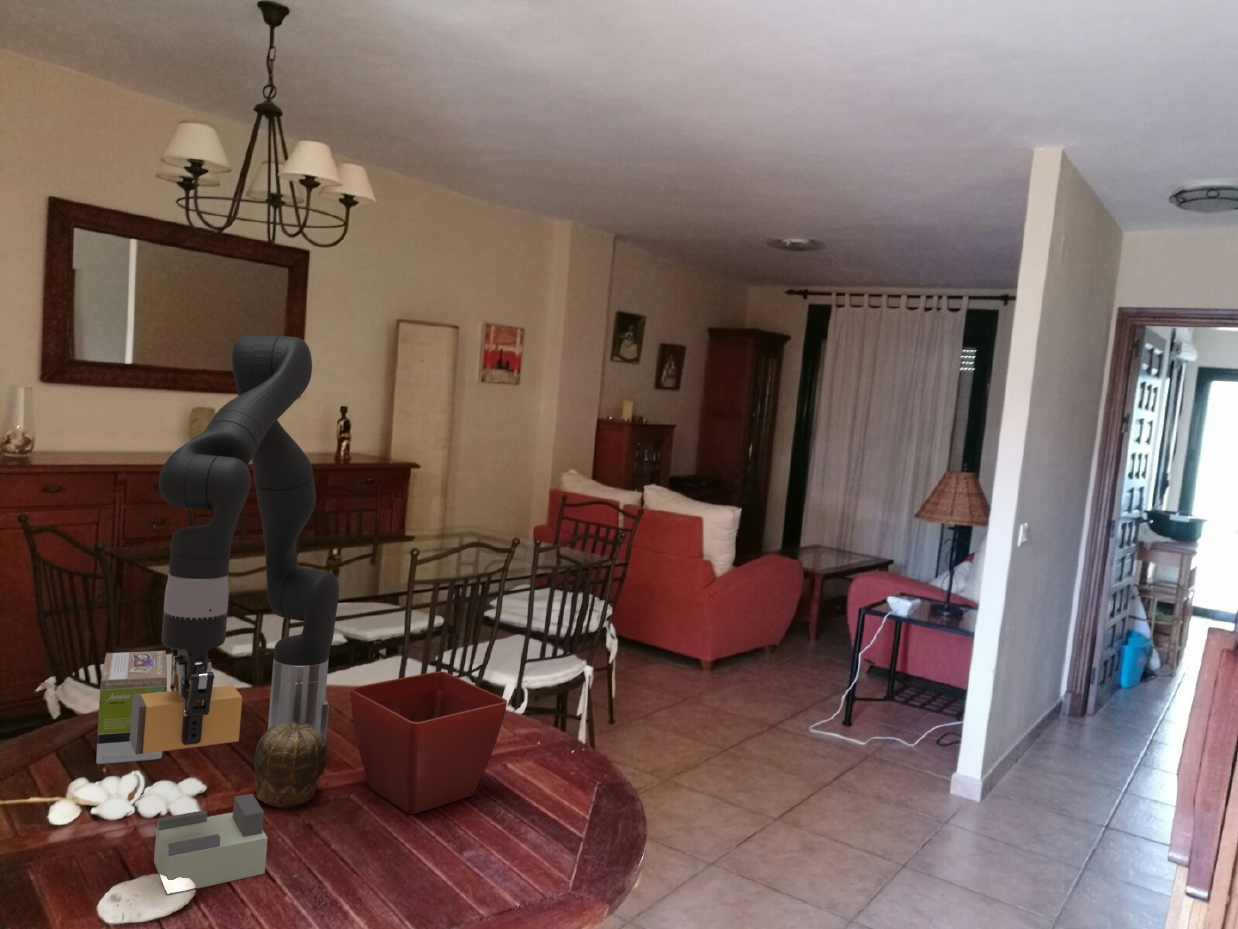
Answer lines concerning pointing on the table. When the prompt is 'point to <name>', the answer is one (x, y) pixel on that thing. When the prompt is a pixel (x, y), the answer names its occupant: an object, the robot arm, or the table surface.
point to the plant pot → (425, 737)
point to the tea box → (126, 701)
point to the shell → (289, 764)
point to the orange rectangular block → (163, 720)
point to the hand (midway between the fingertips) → (186, 735)
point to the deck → (213, 844)
